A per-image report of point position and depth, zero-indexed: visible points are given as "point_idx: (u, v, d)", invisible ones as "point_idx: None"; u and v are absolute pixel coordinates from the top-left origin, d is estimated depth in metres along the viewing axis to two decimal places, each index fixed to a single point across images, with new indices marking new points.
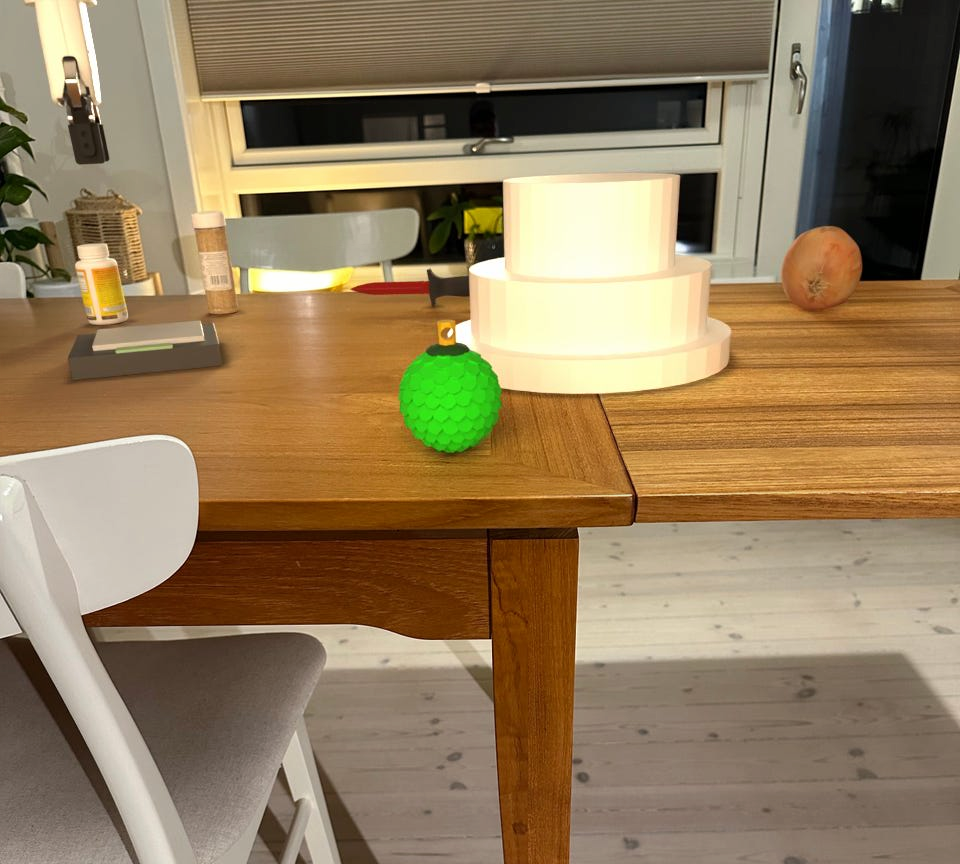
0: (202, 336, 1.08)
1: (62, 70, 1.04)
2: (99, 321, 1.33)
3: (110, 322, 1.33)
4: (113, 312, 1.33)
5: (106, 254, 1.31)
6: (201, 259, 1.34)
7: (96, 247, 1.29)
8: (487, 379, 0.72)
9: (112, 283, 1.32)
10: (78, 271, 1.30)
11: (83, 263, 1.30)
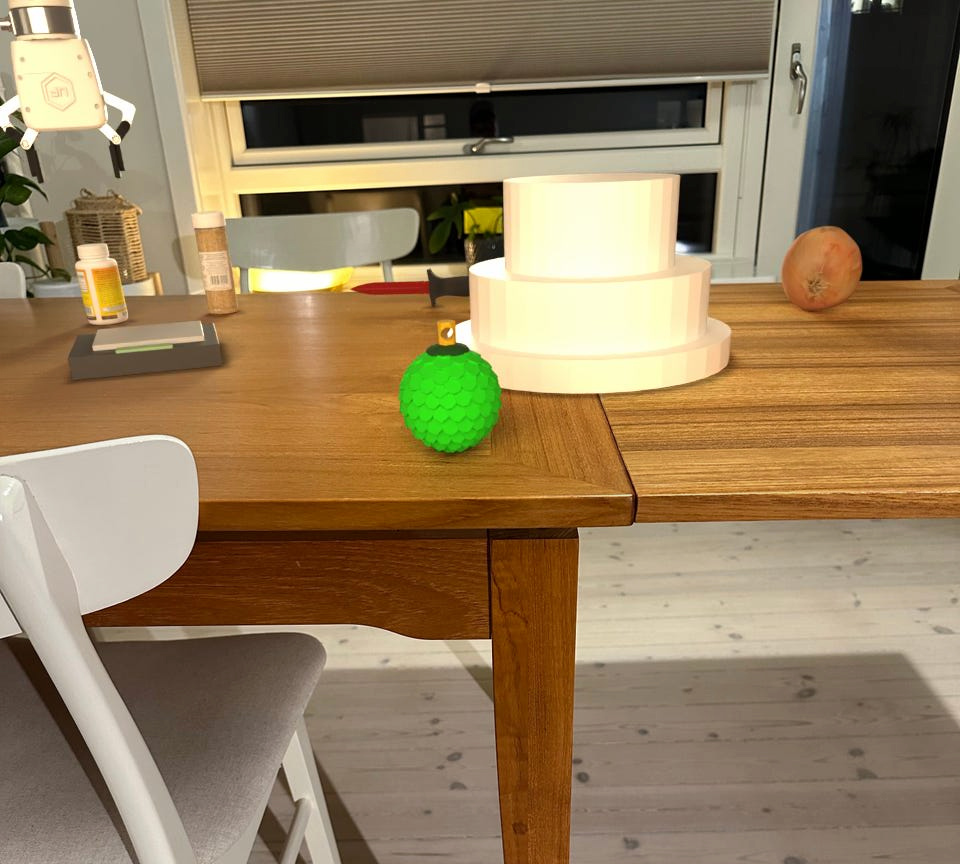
0: (202, 336, 1.08)
1: (104, 98, 1.22)
2: (99, 321, 1.33)
3: (110, 322, 1.33)
4: (113, 312, 1.33)
5: (106, 254, 1.31)
6: (201, 259, 1.34)
7: (96, 247, 1.29)
8: (487, 379, 0.72)
9: (112, 283, 1.32)
10: (78, 271, 1.30)
11: (83, 263, 1.30)
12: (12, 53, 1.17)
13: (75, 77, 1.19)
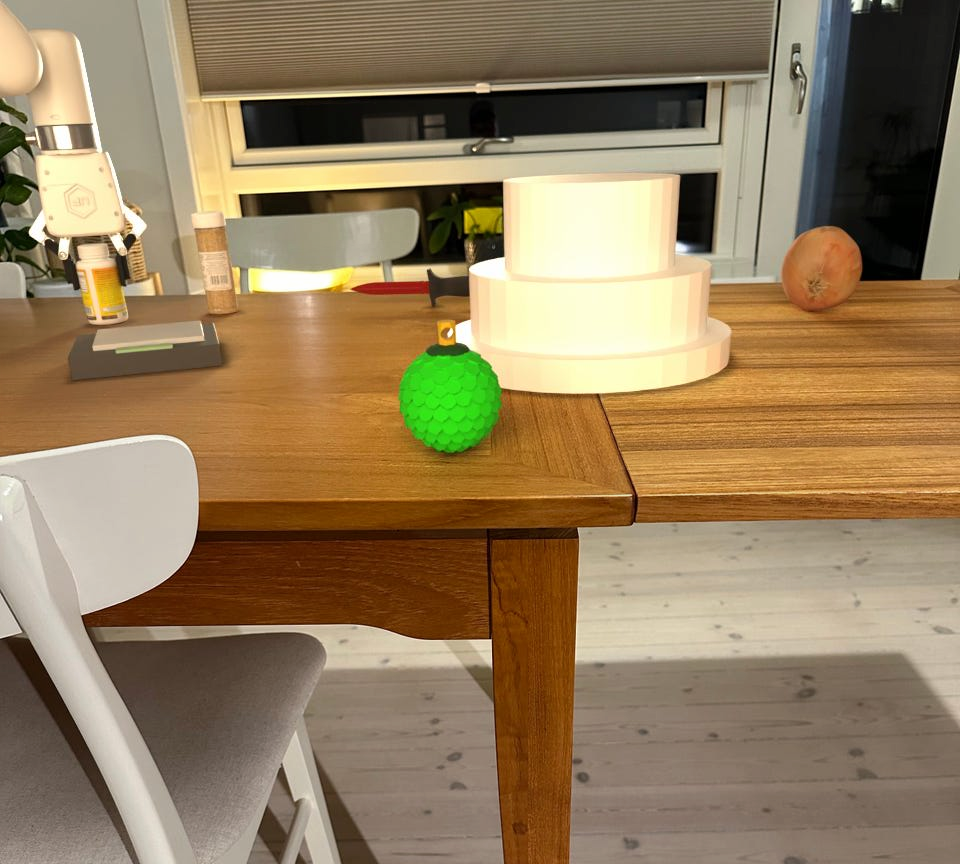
0: (202, 336, 1.08)
1: (123, 205, 1.29)
2: (99, 321, 1.33)
3: (110, 322, 1.33)
4: (113, 312, 1.33)
5: (106, 254, 1.31)
6: (201, 259, 1.34)
7: (96, 247, 1.29)
8: (487, 379, 0.72)
9: (112, 283, 1.32)
10: (78, 270, 1.30)
11: (83, 263, 1.30)
12: (37, 166, 1.23)
13: (96, 188, 1.26)
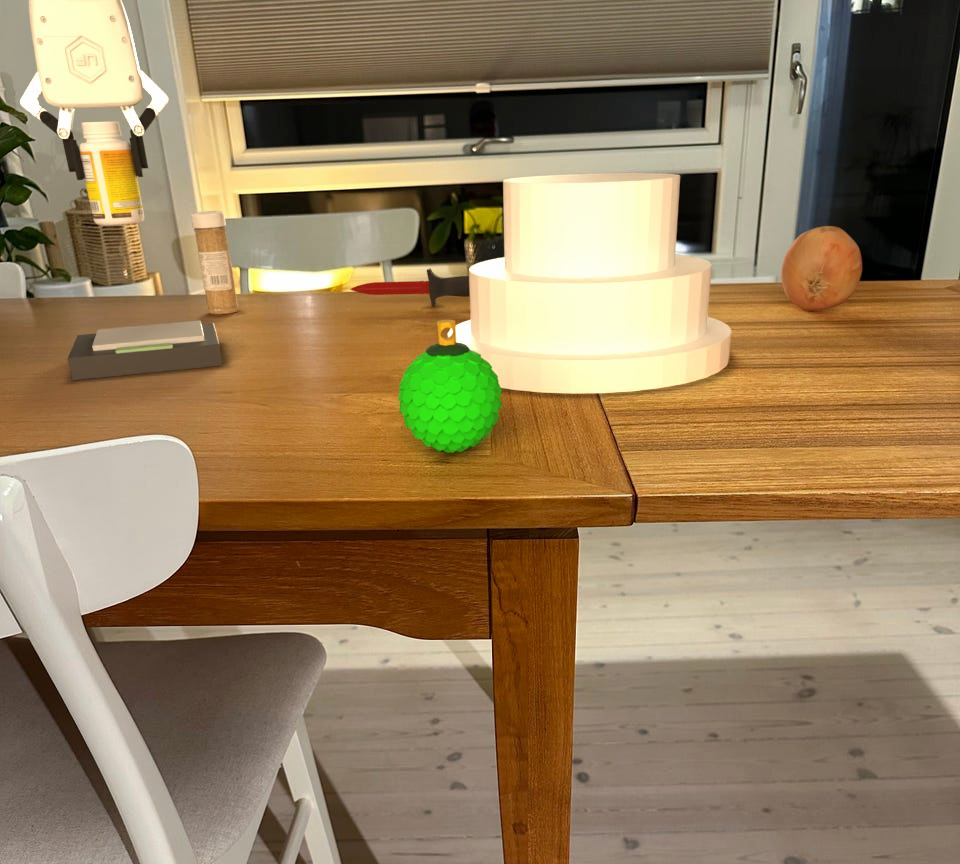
0: (202, 336, 1.08)
1: (139, 70, 1.02)
2: (108, 219, 1.06)
3: (122, 222, 1.06)
4: (127, 208, 1.06)
5: (118, 134, 1.04)
6: (201, 259, 1.34)
7: (106, 123, 1.02)
8: (487, 379, 0.72)
9: (126, 172, 1.05)
10: (82, 154, 1.03)
11: (89, 143, 1.03)
12: (31, 11, 0.96)
13: (106, 42, 0.98)
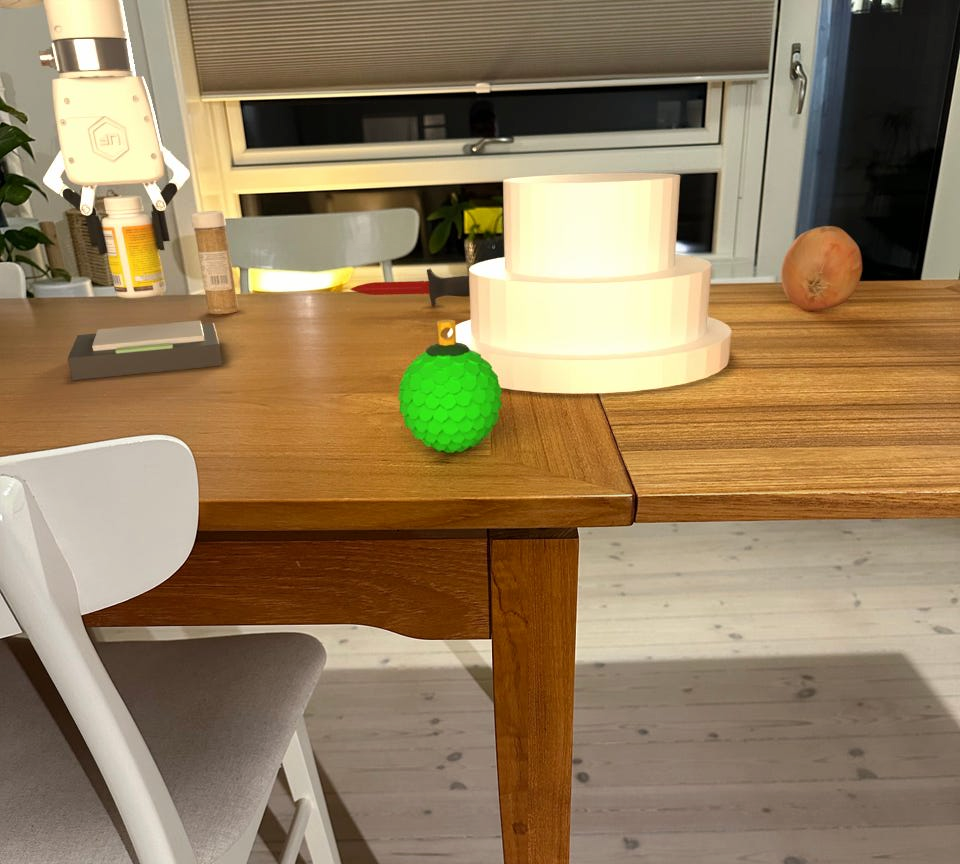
0: (202, 336, 1.08)
1: (161, 146, 1.02)
2: (130, 293, 1.06)
3: (144, 295, 1.07)
4: (148, 282, 1.06)
5: (140, 209, 1.04)
6: (201, 259, 1.34)
7: (128, 199, 1.03)
8: (487, 379, 0.72)
9: (147, 246, 1.05)
10: (105, 229, 1.04)
11: (111, 219, 1.03)
12: (54, 93, 0.97)
13: (129, 122, 0.99)
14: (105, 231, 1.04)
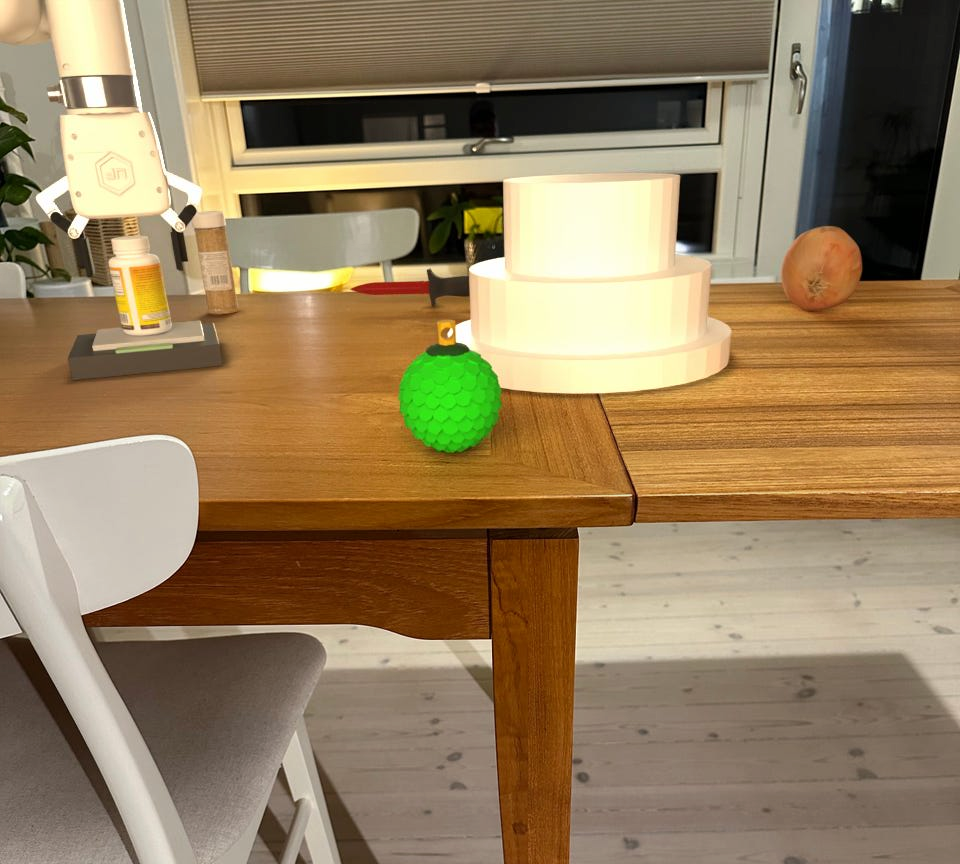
0: (202, 336, 1.08)
1: (167, 180, 1.04)
2: (137, 331, 1.08)
3: (151, 332, 1.09)
4: (155, 320, 1.08)
5: (147, 249, 1.06)
6: (201, 259, 1.34)
7: (135, 240, 1.05)
8: (487, 379, 0.72)
9: (154, 285, 1.07)
10: (112, 269, 1.06)
11: (119, 260, 1.05)
12: (62, 129, 0.98)
13: (135, 157, 1.00)
14: (112, 271, 1.06)
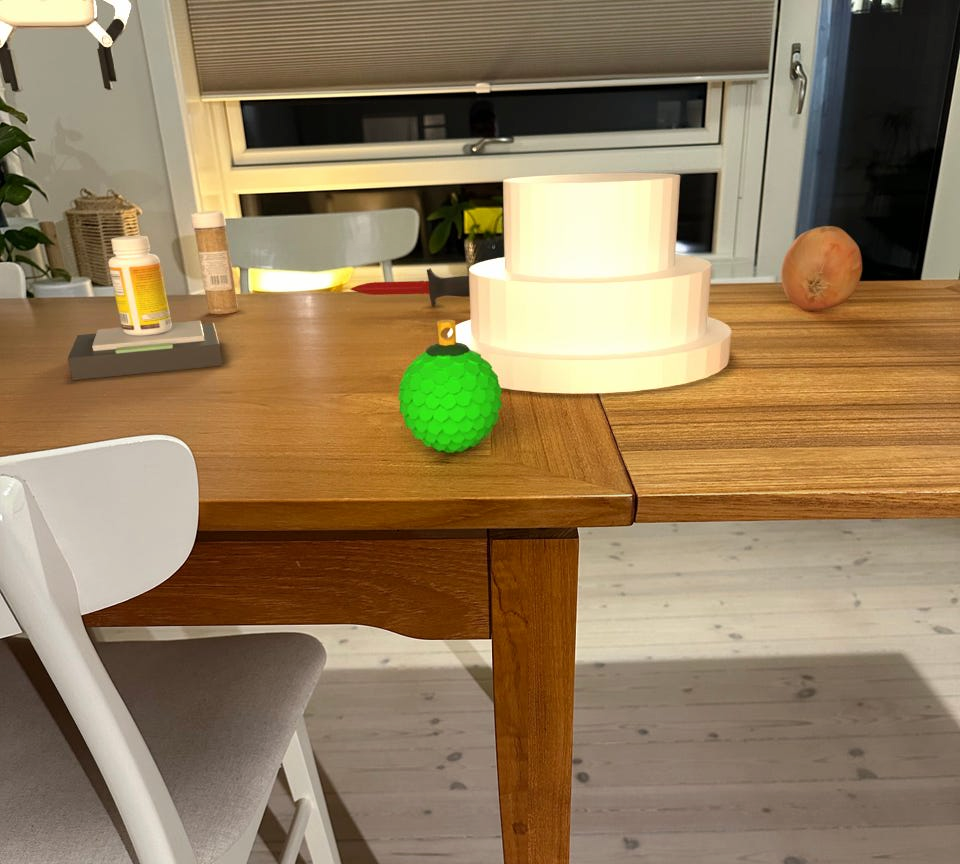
0: (202, 336, 1.08)
1: None
2: (137, 331, 1.08)
3: (151, 332, 1.09)
4: (155, 320, 1.08)
5: (147, 249, 1.06)
6: (201, 259, 1.34)
7: (135, 240, 1.05)
8: (487, 379, 0.72)
9: (154, 285, 1.07)
10: (112, 269, 1.06)
11: (119, 260, 1.05)
12: None
13: None
14: (112, 271, 1.06)
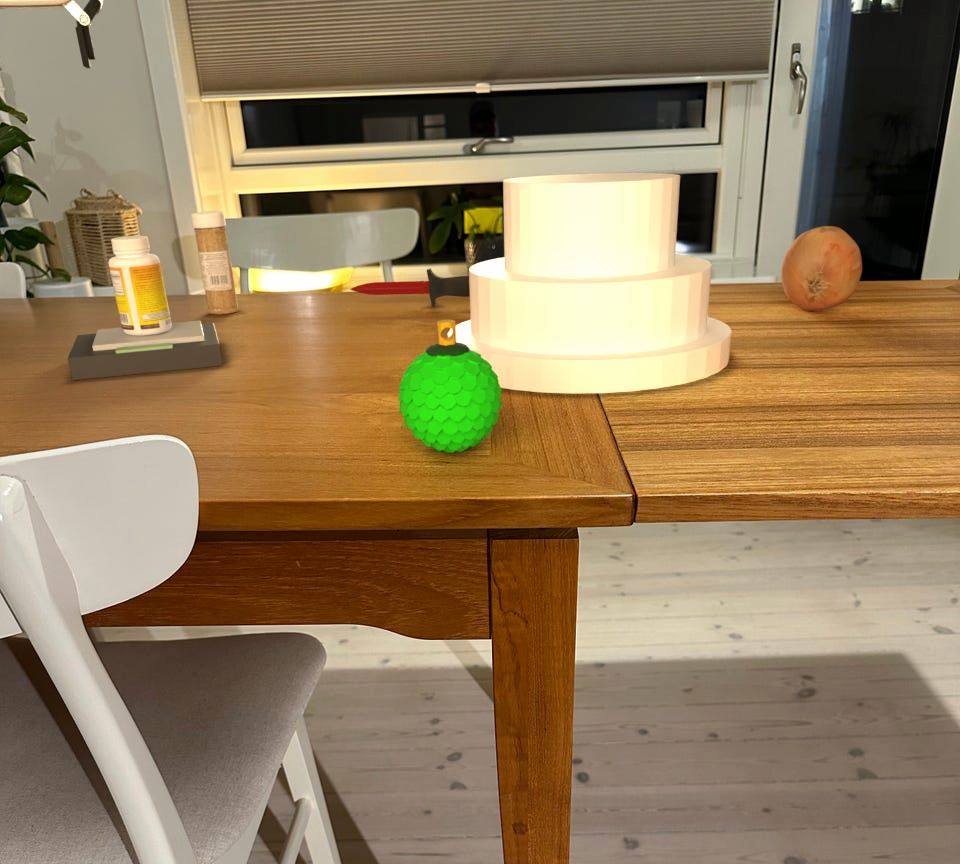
0: (202, 336, 1.08)
1: None
2: (137, 331, 1.08)
3: (151, 332, 1.09)
4: (155, 320, 1.08)
5: (147, 249, 1.06)
6: (201, 259, 1.34)
7: (135, 240, 1.05)
8: (487, 379, 0.72)
9: (154, 285, 1.07)
10: (112, 269, 1.06)
11: (119, 260, 1.05)
12: None
13: None
14: (112, 271, 1.06)
